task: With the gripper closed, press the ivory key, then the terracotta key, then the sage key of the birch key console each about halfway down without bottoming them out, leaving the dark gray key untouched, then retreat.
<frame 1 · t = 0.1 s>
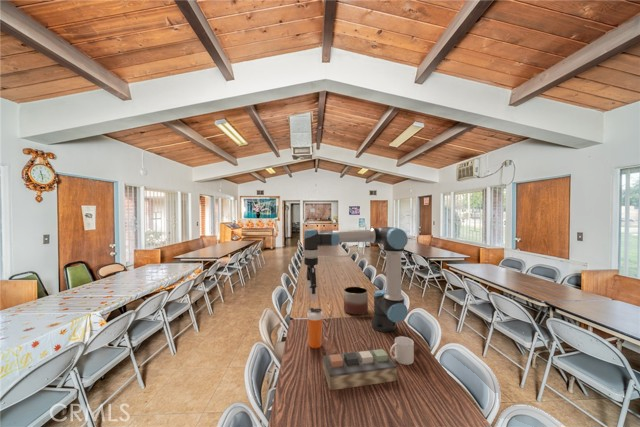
hand: (311, 295, 138), 28 cm above the table, fingers open, 13 cm apart
planter: (355, 311, 186), on the table
key ivory: (365, 358, 114), point 7 cm above the table, slide at 0.0 cm
key sage: (380, 356, 115), point 7 cm above the table, slide at 0.0 cm
key terracotta: (336, 362, 111), point 7 cm above the table, slide at 0.0 cm
console: (358, 374, 113), on the table
key dark gray: (351, 360, 112), point 7 cm above the table, slide at 0.0 cm
mug: (401, 359, 125), on the table
shaker bottle: (315, 345, 139), on the table
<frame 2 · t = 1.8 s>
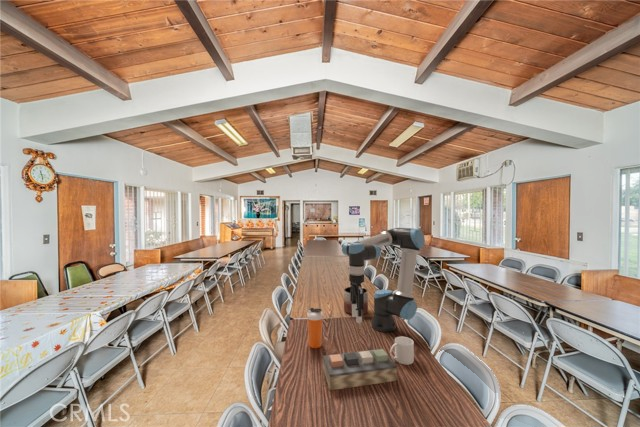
hand: (356, 319, 125), 20 cm above the table, fingers open, 6 cm apart
nothing on the table moved.
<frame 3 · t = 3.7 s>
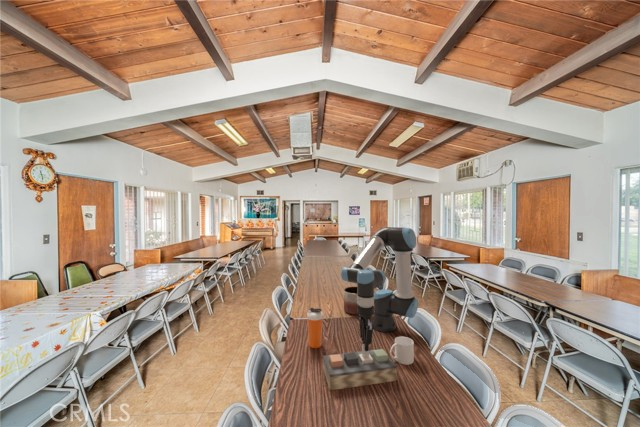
hand: (365, 356, 114), 8 cm above the table, fingers closed
key ivory: (365, 361, 114), point 6 cm above the table, slide at 1.2 cm, touching gripper
everything else where it was.
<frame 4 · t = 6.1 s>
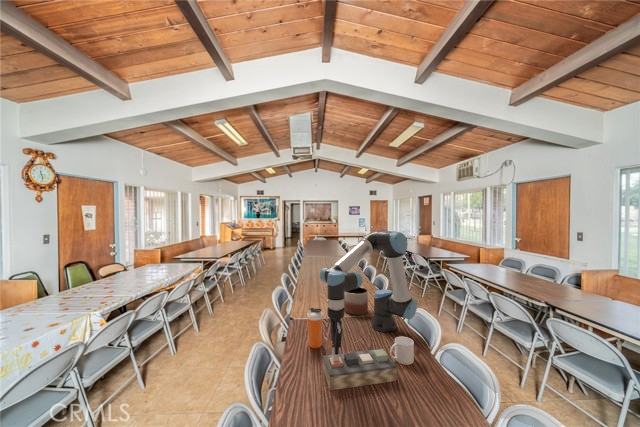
hand: (335, 360, 111), 8 cm above the table, fingers closed
key ivory: (365, 361, 114), point 6 cm above the table, slide at 1.3 cm
key terracotta: (336, 364, 111), point 6 cm above the table, slide at 1.2 cm, touching gripper
everything else where it was.
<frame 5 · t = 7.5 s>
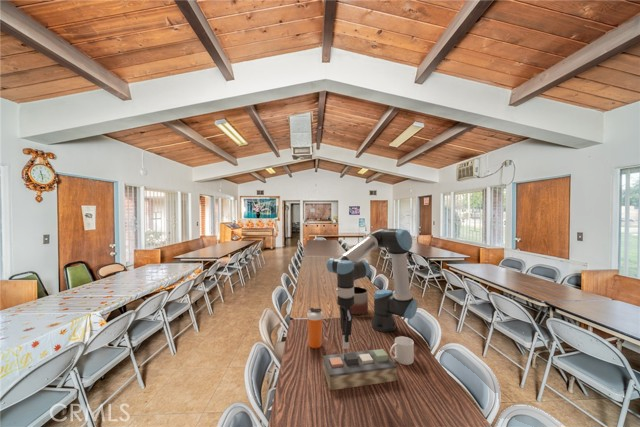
hand: (346, 347, 112), 13 cm above the table, fingers closed
key terracotta: (336, 365, 111), point 6 cm above the table, slide at 1.3 cm
everything else where it was.
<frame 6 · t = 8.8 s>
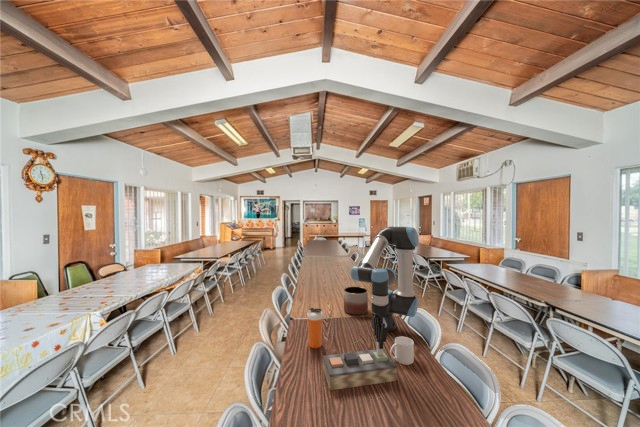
hand: (379, 354, 115), 8 cm above the table, fingers closed
key sage: (380, 358, 115), point 6 cm above the table, slide at 0.9 cm, touching gripper
everything else where it was.
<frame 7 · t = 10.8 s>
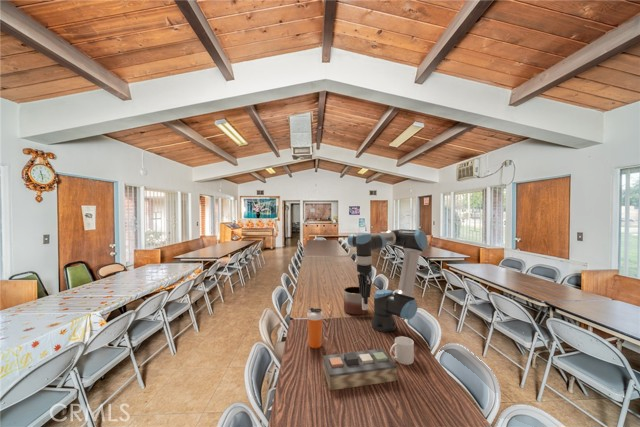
hand: (365, 309, 128), 24 cm above the table, fingers closed
key sage: (380, 359, 115), point 6 cm above the table, slide at 1.3 cm
everything else where it was.
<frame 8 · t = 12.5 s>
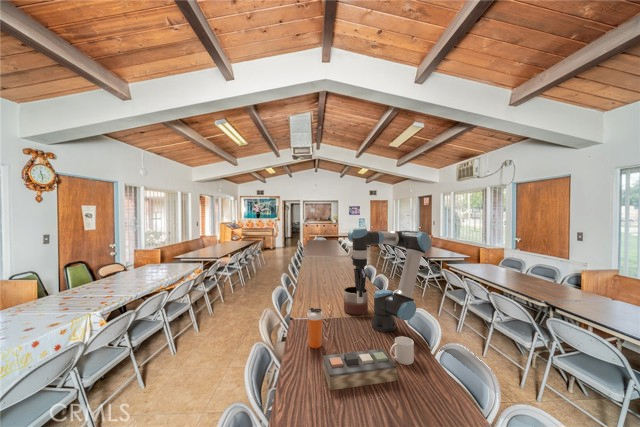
hand: (359, 302, 131), 26 cm above the table, fingers closed
nothing on the table moved.
at the end: key ivory slide at 1.3 cm; key terracotta slide at 1.3 cm; key sage slide at 1.3 cm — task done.
